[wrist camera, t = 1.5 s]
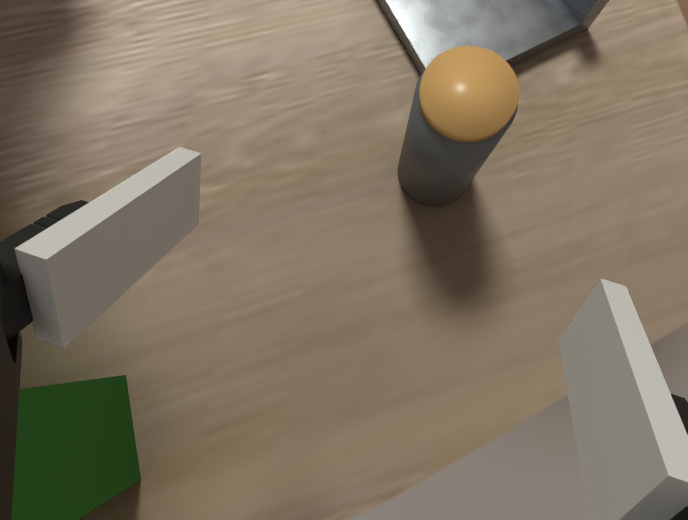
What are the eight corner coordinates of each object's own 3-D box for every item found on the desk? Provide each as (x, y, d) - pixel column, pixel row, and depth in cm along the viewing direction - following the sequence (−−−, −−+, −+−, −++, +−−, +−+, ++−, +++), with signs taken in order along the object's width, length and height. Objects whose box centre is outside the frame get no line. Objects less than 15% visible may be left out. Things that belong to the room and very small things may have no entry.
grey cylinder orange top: (385, 156, 37) (397, 69, 25) (447, 126, 37) (489, 25, 26) (419, 218, 36) (448, 157, 24) (483, 186, 36) (543, 110, 25)
